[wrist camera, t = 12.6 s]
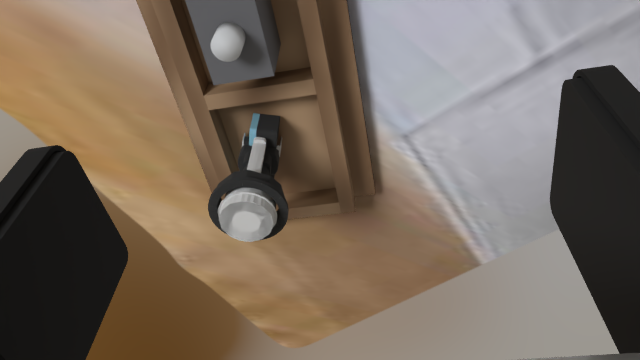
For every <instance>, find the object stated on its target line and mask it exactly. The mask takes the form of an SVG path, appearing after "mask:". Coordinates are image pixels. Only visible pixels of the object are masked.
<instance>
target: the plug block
mask: <svg viewBox="0 0 640 360" xmlns="http://www.w3.org/2000/svg"><path fill="white" fill-rule="evenodd" d="M185 2H186V5H187V8H188V11H189V14H190V16H191V19H192V22H193V25H194V28H195V31H196V34H197V37H198V40H199V43H200V46H201V49H202V52H203V55H204V58H205V61H206V64H207V67H208V70H209V73H210V76H211V79H212V82H213V85H219V84H226V83H232V82H239V81H245V80H252V79H258V78H265V77H271V76H274V75H275V70H276V65H277V60H278V56H279V51H280V46H281V42H280V38H279V33H278V29H277V25H276V21H275V17H274V12H273V8H272V4H271V0H185Z"/></svg>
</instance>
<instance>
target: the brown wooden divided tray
mask: <svg viewBox="0 0 640 360" xmlns="http://www.w3.org/2000/svg"><path fill="white" fill-rule="evenodd" d="M136 1H137V4H138V6H139V9H140V11H141V14H142V16H143V19H144V21H145V24H146V26H147V29H148V32H149V34H150V37H151V39H152V42H153V44H154V47H155V49H156V52H157V54H158V57H159V60H160V62H161V65H162V67H163V70H164V72H165V75H166V77H167V80H168V82H169V85H170V87H171V90H172V93H173V95H174V98H175V100H176V103H177V105H178V108H179V110H180V113H181V115H182V118H183V121H184V123H185V126H186V128H187V131H188V133H189V136H190V138H191V141H192V143H193V146H194V149H195V151H196V154H197V156H198V159H199V161H200V164H201V166H202V169H203V171H204V174H205V177H206V179H207V182H208V184H209V187H210V189H211V192H213V191H214V189H215V188H216V187H217V185H218V184H219V183H220V182H221V181H222V180H224V179H225V178H226V177H228V176H229V175H230V174H232V173H233V172H235V171H240V170H239V168H238V157H239V153H240V150H241V148H242V141H243V136H244V133H246V136H247V137H249V132H250V126H251V122H252V117H253V113H258V114H267V115H276V116H280V126H279V133H278V140H277V145H280V141H281V137H282V145H281V153H280V157H279V166H278V170H277V172H276V174H275V177H274V179H275V180H276V181H277V182H279V183H280V184H281V186H282V189H283V193H284V196H285V199H286V201H287V204H288V209H289V212H288V219H287V220H289V219H297V218H306V217H314V216H323V215H331V214H340V213H349V212H355V196H363V195H371V194H375V185H374V178H373V171H372V165H371V158H370V151H369V145H368V138H367V131H366V125H365V118H364V111H363V105H362V98H361V91H360V85H359V78H358V71H357V65H356V58H355V51H354V45H353V38H352V31H351V25H350V18H349V11H348V5H347V0H271V4H272V8H273V12H274V17H275V21H276V25H277V29H278V33H279V38H280V42H281V46H280V51H279V56H278V60H277V65H276V70H275V75H274V76H271V77H265V78H258V79H252V80H245V81H239V82H232V83H226V84H219V85H213V82H212V79H211V76H210V73H209V70H208V67H207V64H206V61H205V58H204V55H203V52H202V49H201V46H200V43H199V40H198V37H197V34H196V31H195V28H194V25H193V22H192V19H191V16H190V14H189V11H188V8H187V5H186V2H185V0H136ZM225 194H226V193H225ZM225 194H224V195H223V196H222V197H221V199H222V200H224V198H225ZM278 209H279V208H278V205H277V204H276V211H277V210H278Z"/></svg>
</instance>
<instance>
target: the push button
mask: <svg viewBox="0 0 640 360" xmlns="http://www.w3.org/2000/svg"><path fill="white" fill-rule="evenodd" d="M279 126H280V116H276V115H267V114H258V113H253V117H252V122H251V126H250V132H249V137H247V136H246V133H244V136H243V141H242V148H241V150H240V153H239V157H238V168H239V170H240V171H235V172H233V173H232V174H230V175H229V176H228V177H226V178H225V179H224V180H222V181H221V182H220V183H219V184H218V185H217V187H216V188H215V189H214V191H213V192H212V194H211V196H210V199H209V203H208V211H209V215H210V217H211V220H212V221H213V223H214V224H215V225H216V226H217V227H218V228H219V229H220V230H221V231H223V232H224V233H226V234H228V235H229V236H231V237H232V238H235V239H237V240H240V241H245V242H246V241H250V242H252V241H257V240H263V239H267V238H270V237H272V236H274V235H276V234H277V233H278V232H280V231H281V230H282V229H283V227H284V226H285V224H286V222H287V219H288V212H289V209H288V204H287V201H286V199H285V196H284V193H283V189H282V186H281V184H280V183H279V182H277V181H276V180H275V179H274V177H275V174H276V172H277V170H278V166H279V157H280V153H281V145H282V137H281V141H280V145H277V140H278V133H279ZM225 193H226V194H225ZM224 194H225V198H224V200H222V199H221V197H222V196H223V195H224ZM276 204H277V205H278V208H279V209H278V210H277V211H276Z"/></svg>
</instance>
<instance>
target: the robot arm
mask: <svg viewBox="0 0 640 360" xmlns="http://www.w3.org/2000/svg"><path fill="white" fill-rule="evenodd" d="M550 205H551V210H552V214H553V216H554V218H555V221H556V223H557V225H558V227H559V229H560V231H561V233H562V235H563V237H564V239H565V241H566V243H567V245H568V247H569V249H570V251H571V254H572V256H573V258H574V260H575V262H576V264H577V266H578V268H579V270H580V272H581V274H582V276H583V278H584V281H585V283H586V285H587V287H588V289H589V291H590V293H591V295H592V297H593V299H594V301H595V303H596V305H597V308H598V310H599V312H600V314H601V316H602V318H603V320H604V322H605V324H606V326H607V328H608V330H609V332H610V334H611V337H612V339H613V341H614V343H615V345H616V347H617V349H618V351H619V353H620V354H607V355H590V356H572V357H554V358H537V359H520V360H640V92H639V91H638V90H637V89H636V88H635V87H634V86H633V85H632V84H631V83H630V82H629V81H628V79H627V78H626V77H625V76H624V75H623V74H622V73H621V72H620V71H619V70H618V69H617V68H616V67H615V66H613V65H609V66H602V67H595V68H588V69H581V70H577V71H576V72H575V73H574V76H573V79H569V80H565V81H564V83H563V86H562V92H561V101H560V110H559V120H558V129H557V138H556V147H555V156H554V165H553V174H552V183H551V192H550ZM127 261H128V251H127V247H126V245H125V243H124V241H123V239H122V238H121V236H120V234H119V232H118V230H117V229H116V227H115V225H114V223H113V222H112V220H111V218H110V216H109V215H108V213H107V211H106V209H105V207H104V206H103V204H102V202H101V201H100V199H99V197H98V195H97V193H96V192H95V190H94V188H93V186H92V184H91V183H90V181H89V179H88V177H87V176H86V174H85V172H84V170H83V169H82V167H81V165H80V163H79V161H78V160H77V158H76V156H75V155H74V154H73V153H72V152H70V151H66V150H65V149H64V148H63V147H61V146H58V145H55V146H48V147H41V148H34V149H29V150H27V151H26V152H25V153H24V154H23V156H22V157H21V158H20V159H19V160H18V162H17V163H16V164H15V165H14V166H13V168H12V169H11V170H10V171H9V172H8V174H7V175H6V176H5V177H4V178H3V180H2V181H1V182H0V360H85V359H86V357H87V355H88V353H89V350H90V348H91V345H92V343H93V341H94V339H95V336H96V333H97V332H98V329H99V327H100V325H101V322H102V320H103V318H104V315H105V313H106V311H107V308H108V306H109V304H110V301H111V299H112V297H113V294H114V292H115V290H116V287H117V285H118V283H119V280H120V278H121V276H122V273H123V271H124V269H125V267H126V264H127Z"/></svg>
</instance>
